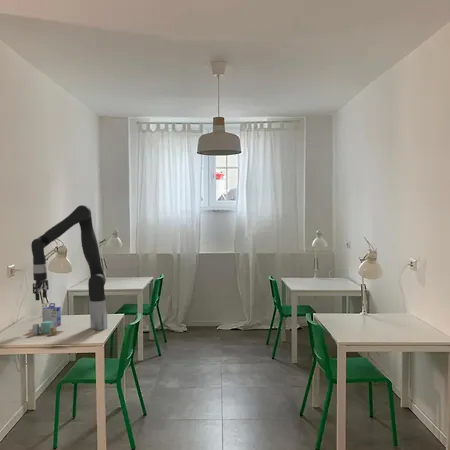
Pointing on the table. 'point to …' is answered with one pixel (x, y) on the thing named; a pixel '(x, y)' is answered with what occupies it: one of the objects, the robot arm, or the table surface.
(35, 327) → the post
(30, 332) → the board
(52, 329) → the tan block
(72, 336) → the table surface
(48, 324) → the aqua matte cube
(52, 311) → the ink cartridge box
